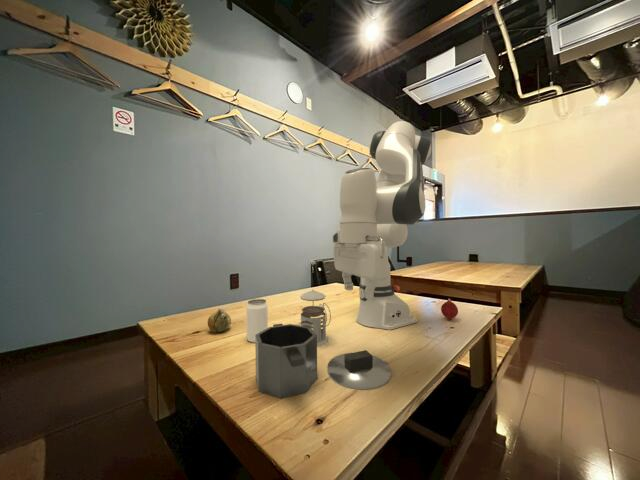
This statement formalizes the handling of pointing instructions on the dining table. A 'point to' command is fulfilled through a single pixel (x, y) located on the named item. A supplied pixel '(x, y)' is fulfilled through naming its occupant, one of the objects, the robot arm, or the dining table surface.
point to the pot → (286, 360)
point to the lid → (359, 370)
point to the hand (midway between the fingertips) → (357, 293)
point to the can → (256, 318)
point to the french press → (315, 315)
